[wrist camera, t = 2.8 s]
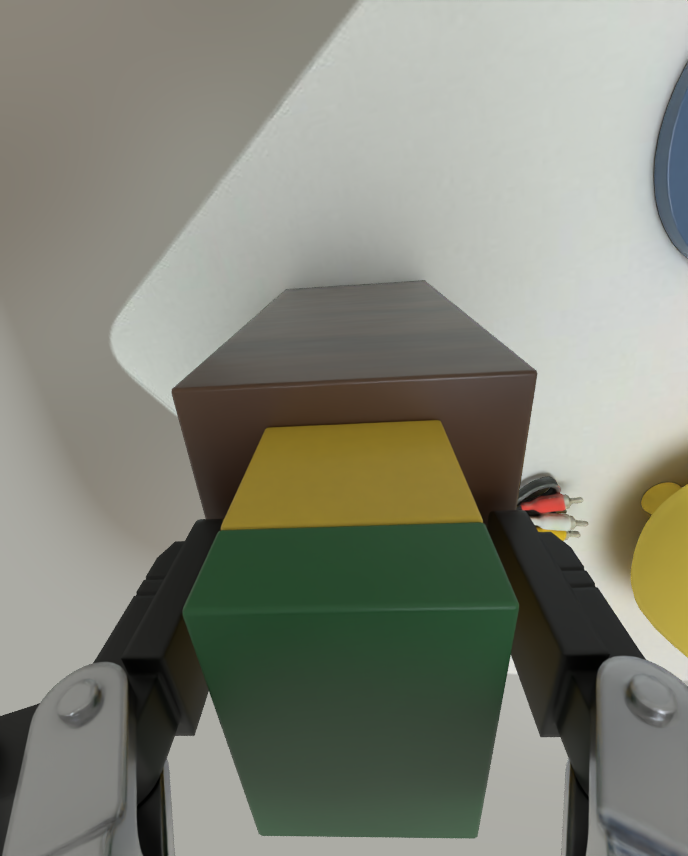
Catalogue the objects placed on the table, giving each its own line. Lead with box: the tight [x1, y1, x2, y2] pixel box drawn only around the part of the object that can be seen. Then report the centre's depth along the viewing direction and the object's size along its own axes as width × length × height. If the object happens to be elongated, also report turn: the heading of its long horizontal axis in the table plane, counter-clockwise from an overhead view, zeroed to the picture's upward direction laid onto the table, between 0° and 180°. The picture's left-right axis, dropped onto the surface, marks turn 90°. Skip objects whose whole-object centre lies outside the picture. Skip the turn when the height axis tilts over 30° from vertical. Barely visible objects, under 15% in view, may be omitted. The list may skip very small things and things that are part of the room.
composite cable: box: [516, 477, 588, 541], centre depth 28 cm, size 10×5×2 cm, turn 102°
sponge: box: [183, 420, 519, 838], centre depth 8 cm, size 6×4×5 cm, turn 4°
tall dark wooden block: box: [172, 281, 537, 528], centre depth 18 cm, size 8×8×16 cm
